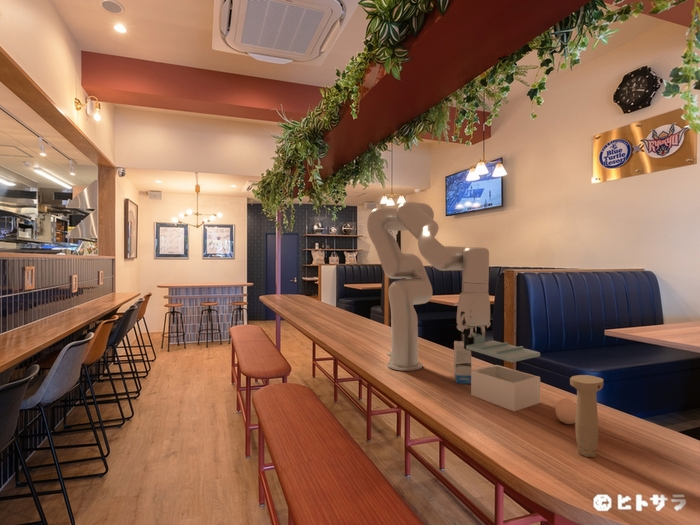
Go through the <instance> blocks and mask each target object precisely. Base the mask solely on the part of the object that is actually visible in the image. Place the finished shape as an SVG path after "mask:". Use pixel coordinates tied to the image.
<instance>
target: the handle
mask: <svg viewBox="0 0 700 525" xmlns="http://www.w3.org/2000/svg"><path fill="white" fill-rule="evenodd" d="M569 384H570V386H571V387H573V388H574V389H576V404H577V406H576V420H575V423H574V425H575V426H574V427H575V440H576V444H577V453H578V454H579V455H581V456H583V457H585V458H595V457H596V455H597V448H598V443H599V442H598V441H599V416H598V399H597V392H600V391H601V390H602V389H603V387H604V378H602V377H598V376H594V375H589V374H579V375H572V376H570V378H569Z"/></svg>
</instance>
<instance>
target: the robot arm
mask: <svg viewBox="0 0 700 525" xmlns="http://www.w3.org/2000/svg"><path fill="white" fill-rule="evenodd" d="M434 216H435V211H434V210H433V208H432V207H431V206H430V205H429V204H427V203H424V202H416V201H404V202H402V203H401V204H399V206H398V207H396V208H394V207H377V208H374V209H373V210H371V211H370V213H369V215H368V217H367V223H366V228H367V232H368V233H367V234H368V236H369V238H370V240H371V242H372V244H373V245H374V248H375V250H376V253H377V256H378V259H379V262H380V265H381V267H382V270H383V272H384V274H385V277H387V278H389V279H392V280H393V279H395V281H393V282H392V283H390V285H389V287H388V290H387V294H388V295H387V296H388V300H389V306H390V322H391V324H390V325H391V327H390V332H391V333H390V335H391V339H390V340H391V350H390V351H389V352H387V354H386V355H387V356H388V357H390V358H389V360H388V362H386V364H387V365H386V366H387V368H389V369H391V370H396V371H404V372H409V371H411V372H413V371H417V370H420V369H422V368H423V362H421V361H420V360H419V341H418V339H419V326H418V325H419V324H418V322H419V321H418V315H417V314H418V313H417V312H416V309H415V307H414V305H415V306H416V305H423V304H427V303H428V302H429V301H430V300H432V297H433V286H432V284H431V281H430V279H429V276H428V273H427V271H426V269H425V268H426V267H425V266H424V264H423V262H422V260H421V258H419V257H418V255H416V254H414V253H407V252H406V253H403V252H402V250H401V248H400V246H399V244H398V241H397V240H396V238H395V237H394V235H392V234H391V233H390V232H389V231H396V232H397V231H398V232H399V231H401V232H402V231H408V232H410V234H412V236H414V238H415V239H416V240H417V246H418V250H419V252H420V255H421V256H422V257H423V258H424V259H425V261H427V263H428V264H430V266H432V267H433V268H435V269H436V270H438V271H443V272H444V271H448V272H449V271H462V274H461V275H462V278H461V279H462V282H461V292H460V293H459V296H458V301H457V308H456V309H457V310H456V311H457V312H456V329H457V330H458V331H460V332H461V334H462V337H463V336H464V349H466V345H471V344H474V338H473V337H472V335H473V333H476V334H480V335H484V336H486V331H487V330H488V328H490V326H491V324H492V323H491V301H490V300H491V299H490V294H489V278H490V272H489V271H490V251H489V249H488V248H486V247H472V246H471V247H465V246H451V245H450V246H446V245H445V246H444V245H443V244H442V243H441V242H440V241H439V240H438V239H437V238H435V237H436V236H437V234H438V232H439V224H438V223H437V222H436V220H434ZM474 331H475V332H474ZM466 350H469V349H466ZM470 351H471V352H473V351H472V350H470Z"/></svg>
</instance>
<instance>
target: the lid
mask: <svg viewBox="0 0 700 525" xmlns="http://www.w3.org/2000/svg"><path fill="white" fill-rule="evenodd" d="M472 337H473V338H474V344H471V345H466V349H469V350H472V351H471V352H476V353H479V354H483V355H486V356H489V357H492V358H495V359H499V360H502V361H506V362H509V363H515V362H520V361H524V360H529V359H533V358H537V357H541V352H539V351H536V350H532V349H528V348H524V346H523V345H520V346H516V345H512V344H509V342H506V341H505V342H500V341H498V340H497V341H496V340H489V341H486V340H485V339H486V335H480V334H476V333H475V332H473V335H472ZM462 338H463V339H462V341H463V343H464V336H463V335H462Z"/></svg>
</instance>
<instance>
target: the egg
mask: <svg viewBox="0 0 700 525" xmlns="http://www.w3.org/2000/svg"><path fill="white" fill-rule="evenodd" d="M576 406H577V402H575V401H574V400H572V399H571V398H568V397H565V398H561V399H560V400H559V401H558V402H557V403H556V405H555V415H556V417H557V419H559V421H561V422H562V423H563V424H566V425H572V424H573V425H575V420H576Z"/></svg>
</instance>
